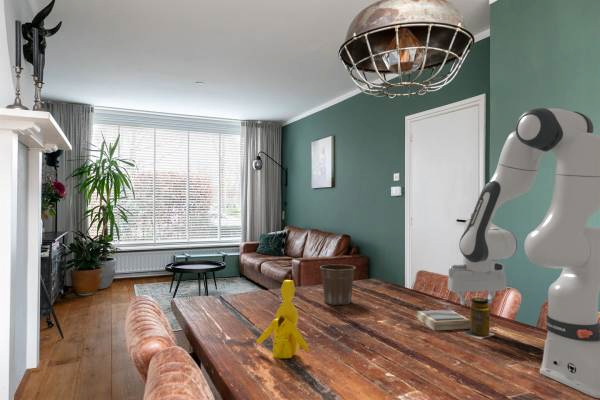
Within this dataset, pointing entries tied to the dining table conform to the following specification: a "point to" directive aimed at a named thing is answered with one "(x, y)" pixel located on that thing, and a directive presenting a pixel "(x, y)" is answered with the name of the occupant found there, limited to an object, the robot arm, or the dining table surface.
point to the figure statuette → (285, 326)
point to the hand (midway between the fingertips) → (476, 303)
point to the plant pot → (337, 283)
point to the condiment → (479, 319)
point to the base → (443, 319)
